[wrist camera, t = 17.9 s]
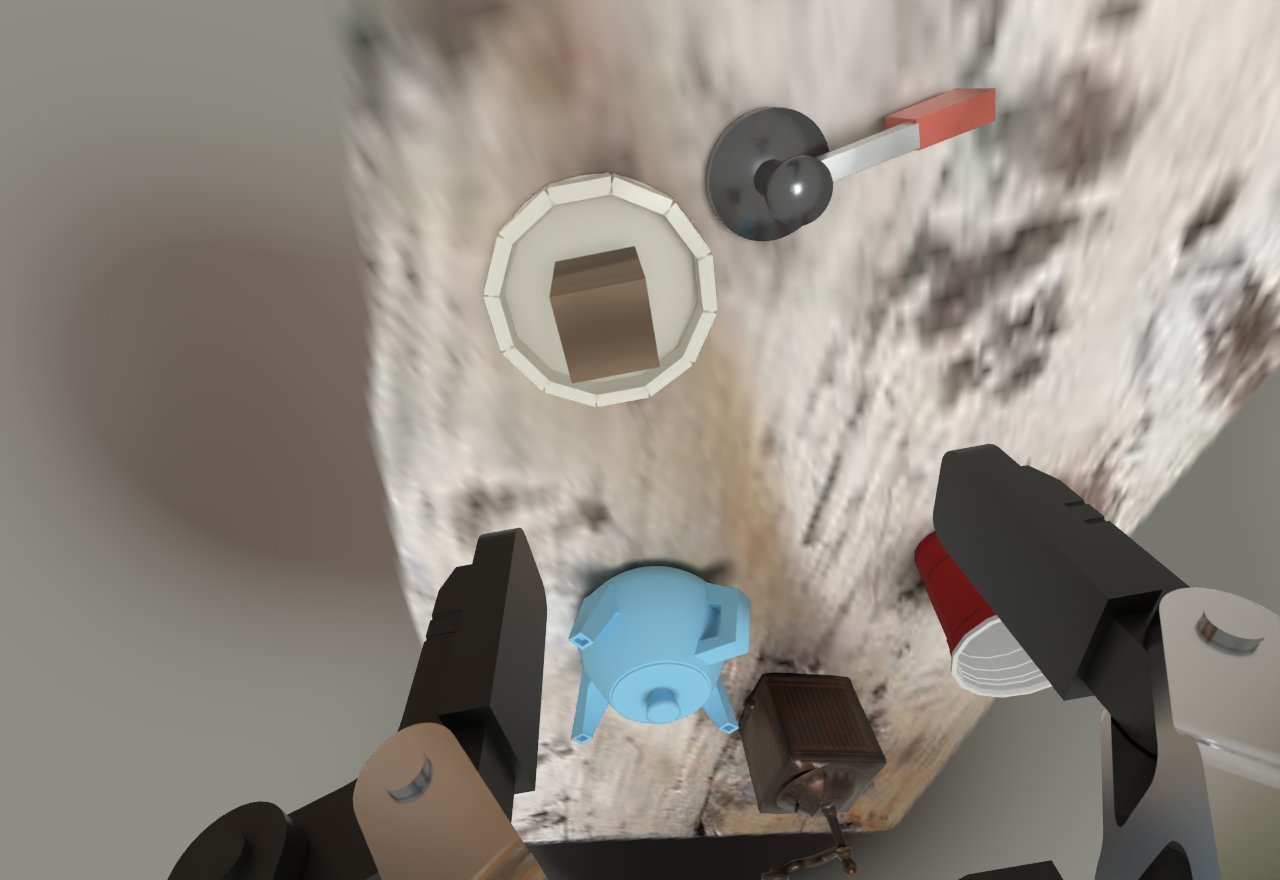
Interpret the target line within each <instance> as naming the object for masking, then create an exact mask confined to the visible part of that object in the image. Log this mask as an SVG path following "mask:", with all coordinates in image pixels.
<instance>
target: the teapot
mask: <svg viewBox="0 0 1280 880" xmlns="http://www.w3.org/2000/svg"><path fill="white" fill-rule="evenodd" d="M749 629H750V600H749V599H748V598H747V597H746V596H745V595H744V594H743V593H742V592H741V591H740V590H739V589H737V588H732V587H727V586H722V585H717V584H712V583H707V582H706V581H704V580H703V579H701V578H699V577H697V576H695V575H693V574H691V573H689V572H686V571H684V570H681V569H677V568H673V567H667V566H644V567H638V568H634V569H630V570H628V571H625V572H622V573H620V574H618V575H616V576H614V577H613V578H611V579H610V580H608V581H606V582H605V583H604V584H602V585H601V586H600V587H599V588H597V589H596V590H595V591H594V592H593V593H592V594H590V595H589V596H587V597H586V598H584V600H583V603H582V605H581V608H580V610H579V613H578V615H577V618H576V620H575V623H574V626H573V628H572V631H571V633H570V636H569V641H571V642H572V643H573V644H575V645H576V646H577V647H578V650H579V653H580V657H581V660H582V663H583V672H582V678H581V684H580V689H579V695H578V701H577V707H576V713H575V719H574V725H573V730H572V736H571V740H573V741H575V742H578V743H580V744H583V743H585V742H586V741H588V740H590V739H592V738H593V734H594V732H595V730H596V728H597V726H598V724H599V722H600V720H601V718H602V716H603V714H604V712H605V709H606V707H607V705H608V703H609V704H610V705H611V706H612V707H613V708H614V709H615V710H616V711H617V712H618V713H619V714H621V715H622V716H624V717H626V718H628V719H630V720H633V721H636V722H640V723H648V724H666V723H670V722H672V721H676V720H679V719H682V718H684V717H686V716H688V715H690V714H692V713H693V712H695V711H696V710H698V709H699V708H700V707H701V706H702V708H703V709H704V710H705V711H706V712H707V714H708V715H709V716H710V717H711V719H712V720H713V721H714V722H715V723H716V725H717V726H718V729H720V730H722V731H724V732H726V733H728V734H730V733H732V732H733V731H735V730H737V729H738V728H739V725H738V723H737V720H736V717H735V714H734V712H733V709H732V706H731V703H730V701H729V698H728V695H727V693H726V690H725V687H724V684H723V682H722V679H721V676H720V673H721V670H722V667H723V664H724V661H725V660H727V659H730V658H734V657H737V656H740V655H743V654H746V653H749Z"/></svg>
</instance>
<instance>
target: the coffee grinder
mask: <svg viewBox="0 0 1280 880" xmlns="http://www.w3.org/2000/svg"><path fill="white" fill-rule="evenodd" d="M738 731H739V733H740V735H741V738H742V742H743V747H744V751H745V755H746V759H747V763H748V767H749V771H750V775H751V779H752V783H753V787H754V791H755V795H756V799H757V804H758V809H759V811H760V813H773V814H786V813H803V814H807V815H810V816H811V817H815V816H819V817H826V818H827V820H828V822H829V825H830V828H831V831H832V834H833V836H834V839H835V842H836V845H837V847H830V848H828V849H826V850H824V851H823V852H821V853H818V854H816V855H814V856H811V857H807V858H803V859H798V860H793V861H791V862H789V863H787V864H785V865H783V866H781V867H777V866H776V865H773V868H771V869H770V872H767V873H763V874H762V875H761V878H762V880H789V874H788V873H789V872H792V871H796V870H800V869H805V868H809V867H815V866H819V865H821V864H824V863H826V862H828V861H830V860H832V859H833V858H835V857H837V856H838V857H839V859H840V860H842V866H843V871H844V872H845V873H846V874H847V876H855V875H856V873H857V869H858V867H857V865H856V863H855V861H854V860H853V859H852V856H853V853H852V848H851V847H849V846H847V844H846V841H845V839H844V836H843V833H842V831H841V828H840V825H839V822H838V819H837V816H836V815H837V812H848V811H849V809H850V808H851V807H852V806H853V805H854V803H855V802H856V801H857V800H858V798H859V797H860V796H861V794H862V793H863V792H864V791H865V789H866V788H867V787H868V786H869V785H870V783H871V782H872V781H873V779H874V778H875V777H876V776H877V774H878V773H879V772H880V771H881V769H882V768H883V767H884V766H885V764H886V759H885V756H884V754H883V752H882V750H881V748H880V746H879V744H878V741H877V739H876V737H875V735H874V732H873V730H872V728H871V726H870V723H869V721H868V719H867V717H866V715H865V713H864V710H863V708H862V706H861V704H860V702H859V699H858V697H857V695H856V693H855V690H854V688H853V686H852V683H851V680H850V679H849V678H845V677H838V676H826V675H807V674H787V673H768V674H764V675H763V676H762V678H761V680H760V681H759V683H758V685H757V687H756V688H755V690H754V691H753V693H752V695H751V696H750V698H749V699H748V701H747V703H746V705H745V708H744V712H743V714H742V717H741V719H740V724H739V730H738Z"/></svg>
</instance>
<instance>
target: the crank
mask: <svg viewBox="0 0 1280 880" xmlns="http://www.w3.org/2000/svg"><path fill="white" fill-rule="evenodd" d="M993 121H995V88H986V89H954V90H951V91H949V92H946V93H944V94H941V95H938V96H936V97H933V98H931V99H928V100H926V101H923V102H921V103H918V104H916V105H913V106H911V107H908V108H906V109H903V110H901V111H898V112H895V113H893V114H890V115H888V116H885V122H886V130H884V131H882V132H879V133H877V134H874V135H872V136H869V137H867V138H864V139H862V140H859V141H856V142H854V143H851V144H849V145H846V146H844V147H841V148H839V149H836V150H834V151H831V152H828V153H826V154H823V155H821V156H818V157H816V159H818V160H820V161H822V162H823V163H824V164H825V165H826V166H827V168H828V169H829V171H830V173H831V176H832V181H835V180H838V179H840V178H843V177H846V176H848V175H851V174H853V173H856V172H859V171H861V170H864V169H866V168H869V167H871V166H874V165H877V164H879V163H882V162H884V161H887V160H890V159H892V158H895V157H897V156H900V155H902V154H905V153H908V152H910V151H913V150H921V149H923V148H926V147H928V146H931V145H934V144H936V143H939V142H941V141H944V140H947V139H949V138H952V137H954V136H957V135H959V134H962V133H965V132H967V131H970V130H972V129H975V128H978V127H980V126H983V125H985V124H988V123H991V122H993Z"/></svg>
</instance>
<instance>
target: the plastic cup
mask: <svg viewBox="0 0 1280 880" xmlns="http://www.w3.org/2000/svg"><path fill="white" fill-rule="evenodd" d="M915 561H916V563H917V564H916V566H917V568H918V570H919V573H920V575H921V577H922V579H923V581H924V583H925V585H926V591H927V593H928V595H929V598H930V600H931V602H932V605H933V607H934V609H935V612H936V614H937V616H938V619H939V621H940V623H941V626H942V628H943V630H944V633H945V635H946V637H947V643H948V646H949V648H950V654H951V657H952V659H951V674H952V675H953V677H954V678H955V680H956V681H957V683H958V684H959V685H960V687H962V688H964V689H966V690H968V691H971V692H973V693H975V694H977V695H983V696H994V697H1009V696H1016V695H1023V694H1030V693H1033V692H1036V691H1039V690H1042V689H1044V688H1048V687H1051V686H1052V685H1051V684H1050V682H1049V681H1048V680H1047V679H1046V677H1045V676H1044V675H1043V673H1042V672H1041V671H1040V670H1039V668H1038V667H1037V666H1036V665H1035V663H1034V662H1033V661H1032V659H1031V658H1030V657H1029V656H1028V654H1027V653H1026V652H1025V651H1024V649H1023V648H1022V647H1021V645H1020V644H1019V643H1018V642H1017V640H1016V639H1015V638H1014V637H1013V635H1012V634H1011V633H1010V631H1009V630H1008V629H1007V628H1006V626H1005V625H1004V624H1003V623H1002V621H1001V620H1000V619H999V617H998V616H997V615H996V614H995V612H994V611H993V610H992V609H991V607H990V606H989V605H988V603H987V602H986V601H985V600H984V598H983V597H982V596H981V595H980V593H979V592H978V591H977V589H976V588H975V587H974V586H973V584H972V583H971V582H970V581H969V579H968V578H967V577H966V575H965V574H964V573H963V572H962V570H961V569H960V568H959V567H958V565H957V564H956V563H955V561H954V560H953V559H952V558H951V556H950V555H949V554H948V552H947V551H946V550H945V549H944V547H943V546H942V545H941V543H940V541H939V539H938V537H937V534H936V532H934V533H932V534H930V535H928V536H927V537H926V538H925V539H924V540H923V541H922V542H921V543H920V544H919V546H918V548H917V550H916V552H915Z"/></svg>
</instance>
